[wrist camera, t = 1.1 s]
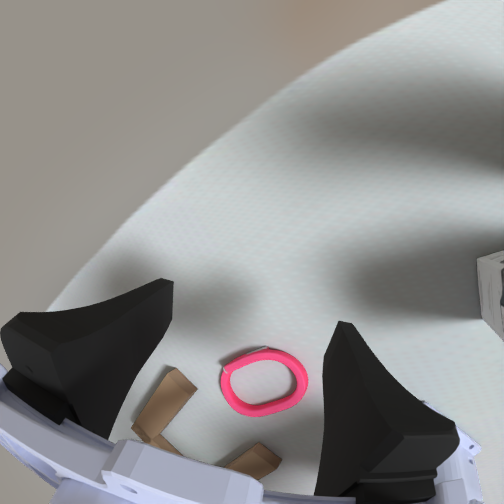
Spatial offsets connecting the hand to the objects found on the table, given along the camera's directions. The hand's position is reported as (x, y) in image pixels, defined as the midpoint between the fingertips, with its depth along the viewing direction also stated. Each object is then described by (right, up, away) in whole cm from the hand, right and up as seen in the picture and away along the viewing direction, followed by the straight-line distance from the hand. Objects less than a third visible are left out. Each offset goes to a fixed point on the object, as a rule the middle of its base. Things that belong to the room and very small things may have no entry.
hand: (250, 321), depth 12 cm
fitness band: (+1, -8, +12) cm, 14 cm away
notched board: (-6, -18, +15) cm, 24 cm away
